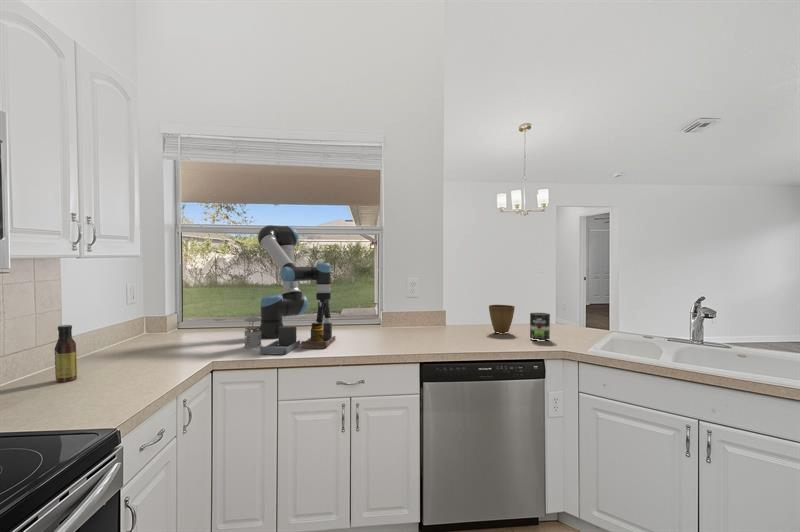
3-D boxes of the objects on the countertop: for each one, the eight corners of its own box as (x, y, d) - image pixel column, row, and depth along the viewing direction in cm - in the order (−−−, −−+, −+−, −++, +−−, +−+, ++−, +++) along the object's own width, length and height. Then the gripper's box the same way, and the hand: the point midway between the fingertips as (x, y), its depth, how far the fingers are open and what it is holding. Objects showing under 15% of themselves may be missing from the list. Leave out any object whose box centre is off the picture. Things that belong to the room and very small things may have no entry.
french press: (243, 350, 207) (243, 298, 207) (240, 345, 217) (240, 296, 217) (265, 348, 212) (264, 297, 211) (260, 344, 222) (260, 295, 222)
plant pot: (484, 333, 252) (484, 306, 252) (494, 330, 265) (494, 304, 264) (509, 336, 244) (509, 307, 244) (518, 332, 256) (518, 305, 256)
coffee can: (549, 342, 227) (549, 315, 226) (528, 340, 230) (529, 314, 230) (550, 338, 236) (550, 313, 236) (530, 337, 240) (530, 312, 240)
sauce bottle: (63, 378, 158) (62, 324, 158) (81, 377, 159) (80, 323, 159) (50, 383, 152) (49, 326, 152) (69, 382, 152) (68, 326, 152)
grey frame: (277, 344, 219) (276, 326, 219) (300, 344, 218) (300, 326, 218) (260, 353, 197) (260, 333, 197) (286, 354, 196) (285, 334, 196)
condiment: (326, 347, 213) (326, 323, 213) (310, 349, 208) (310, 324, 208) (319, 345, 219) (319, 321, 219) (304, 347, 214) (303, 323, 214)
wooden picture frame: (313, 339, 232) (313, 322, 232) (335, 339, 231) (335, 322, 231) (301, 347, 210) (301, 329, 210) (325, 348, 209) (325, 329, 209)
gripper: (325, 294, 217) (325, 336, 217) (335, 290, 242) (335, 328, 242) (310, 294, 217) (310, 336, 218) (322, 290, 242) (322, 328, 243)
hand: (323, 332), depth 230 cm, fingers open, 13 cm apart
